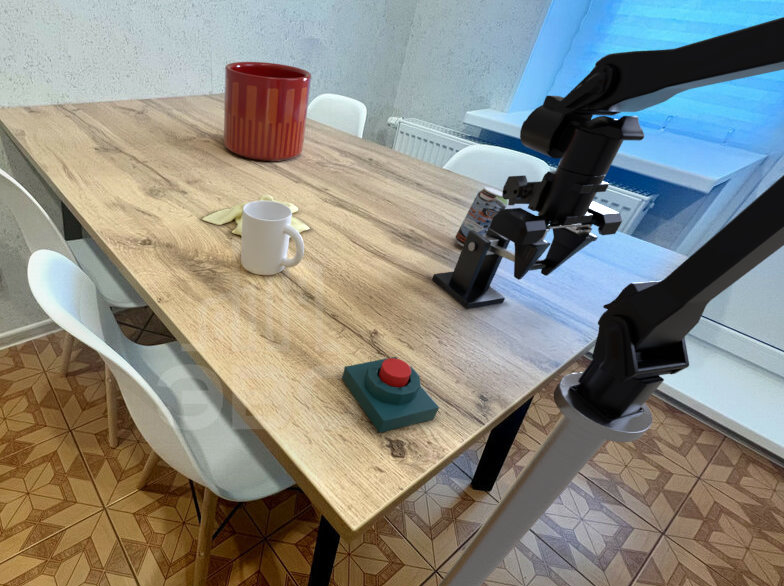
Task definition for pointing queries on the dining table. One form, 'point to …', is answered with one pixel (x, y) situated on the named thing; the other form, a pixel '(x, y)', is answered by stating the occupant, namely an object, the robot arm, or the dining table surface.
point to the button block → (389, 397)
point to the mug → (268, 238)
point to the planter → (265, 110)
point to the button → (395, 372)
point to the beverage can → (481, 213)
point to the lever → (512, 254)
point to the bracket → (474, 272)
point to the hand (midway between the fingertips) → (530, 276)
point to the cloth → (237, 214)
